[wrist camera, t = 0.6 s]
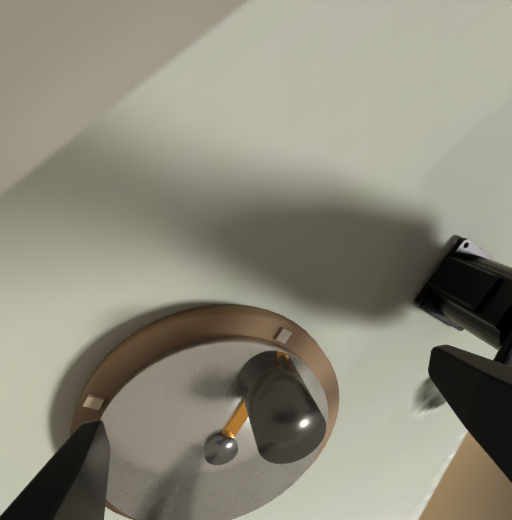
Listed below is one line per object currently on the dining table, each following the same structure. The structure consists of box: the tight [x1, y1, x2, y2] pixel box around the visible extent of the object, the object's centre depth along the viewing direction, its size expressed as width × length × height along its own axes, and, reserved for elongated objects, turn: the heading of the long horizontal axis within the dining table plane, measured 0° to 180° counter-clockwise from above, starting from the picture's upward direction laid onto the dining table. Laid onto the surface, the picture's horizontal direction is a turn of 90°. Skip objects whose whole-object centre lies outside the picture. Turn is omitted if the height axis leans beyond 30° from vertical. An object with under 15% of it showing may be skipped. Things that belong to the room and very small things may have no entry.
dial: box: [99, 336, 328, 520], centre depth 21 cm, size 17×17×6 cm
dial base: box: [70, 305, 339, 520], centre depth 25 cm, size 20×20×2 cm
